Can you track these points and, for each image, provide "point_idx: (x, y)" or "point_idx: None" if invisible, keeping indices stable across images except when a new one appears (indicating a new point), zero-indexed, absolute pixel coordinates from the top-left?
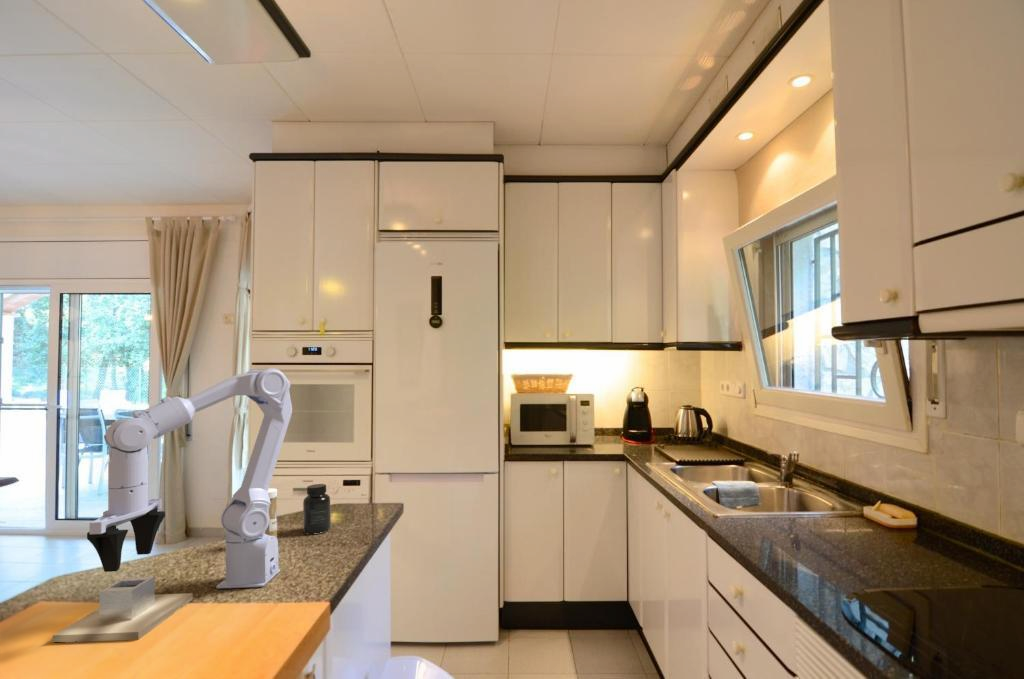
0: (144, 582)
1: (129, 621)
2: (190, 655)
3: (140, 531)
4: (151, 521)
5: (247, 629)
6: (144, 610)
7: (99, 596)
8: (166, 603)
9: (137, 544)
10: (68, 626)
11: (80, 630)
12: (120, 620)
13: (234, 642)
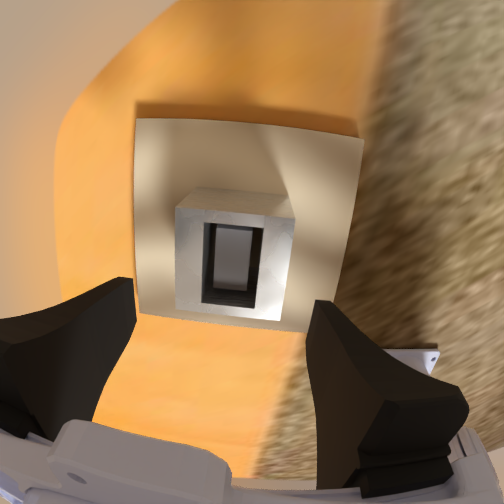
0: (233, 314)
1: None
2: (109, 390)
3: (334, 388)
4: (322, 475)
5: (177, 431)
6: None
7: (180, 202)
8: None
9: (324, 326)
10: (178, 120)
11: (152, 172)
12: None
13: (143, 424)
